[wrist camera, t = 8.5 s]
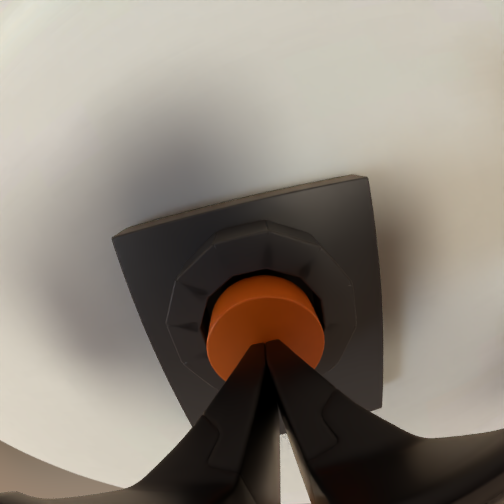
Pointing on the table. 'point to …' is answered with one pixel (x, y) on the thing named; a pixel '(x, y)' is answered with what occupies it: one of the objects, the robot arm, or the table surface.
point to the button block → (262, 263)
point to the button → (262, 322)
